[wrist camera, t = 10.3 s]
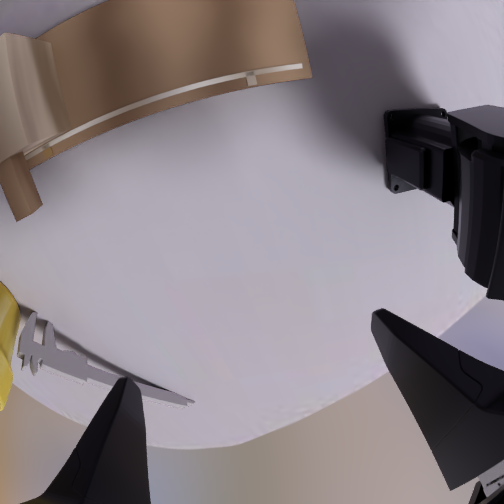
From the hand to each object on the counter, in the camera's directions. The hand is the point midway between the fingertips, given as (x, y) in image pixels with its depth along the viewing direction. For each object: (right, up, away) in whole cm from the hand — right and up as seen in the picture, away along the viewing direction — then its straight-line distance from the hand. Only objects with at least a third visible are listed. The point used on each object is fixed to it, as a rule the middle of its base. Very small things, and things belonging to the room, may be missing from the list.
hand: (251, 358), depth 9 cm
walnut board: (-7, +15, +4) cm, 17 cm away
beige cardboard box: (-12, +11, +3) cm, 17 cm away
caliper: (-14, -8, +16) cm, 23 cm away
